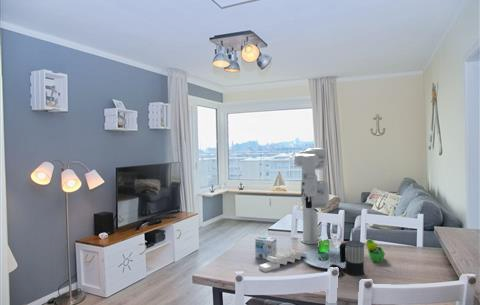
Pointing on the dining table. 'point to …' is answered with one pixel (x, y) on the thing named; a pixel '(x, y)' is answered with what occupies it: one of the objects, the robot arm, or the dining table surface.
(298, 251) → the domino
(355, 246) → the milk frother
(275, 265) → the domino
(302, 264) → the dining table surface
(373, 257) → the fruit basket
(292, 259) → the domino
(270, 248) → the light bulb box
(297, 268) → the dining table surface
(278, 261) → the domino
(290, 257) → the domino
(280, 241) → the dining table surface
